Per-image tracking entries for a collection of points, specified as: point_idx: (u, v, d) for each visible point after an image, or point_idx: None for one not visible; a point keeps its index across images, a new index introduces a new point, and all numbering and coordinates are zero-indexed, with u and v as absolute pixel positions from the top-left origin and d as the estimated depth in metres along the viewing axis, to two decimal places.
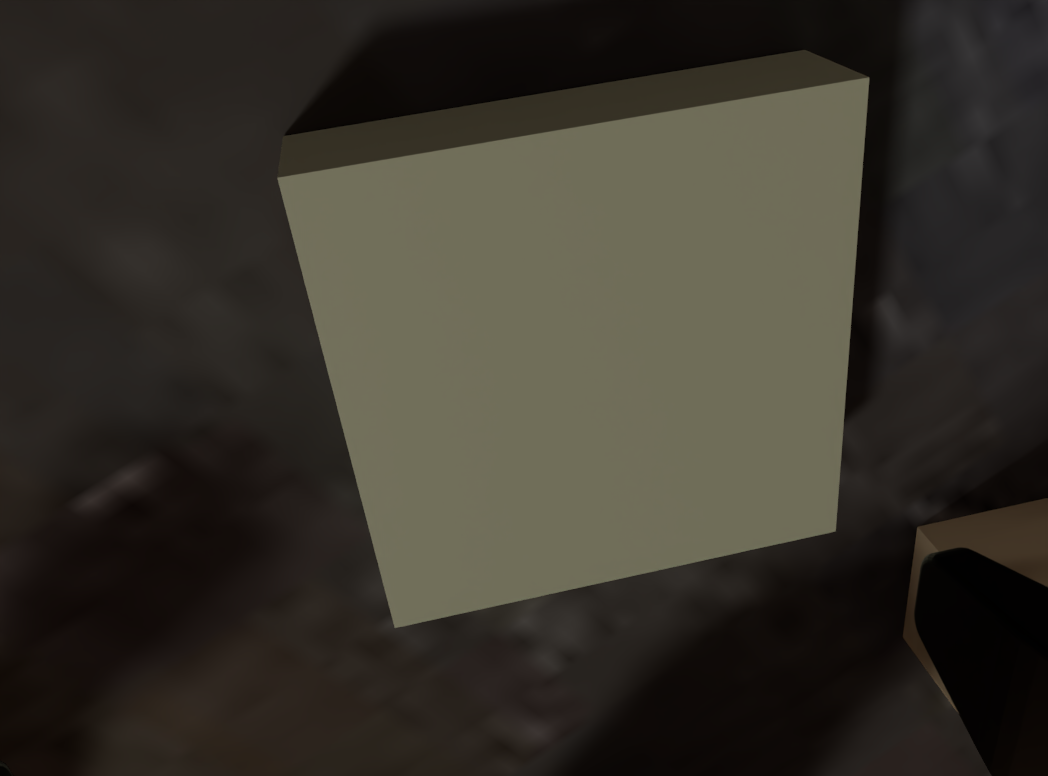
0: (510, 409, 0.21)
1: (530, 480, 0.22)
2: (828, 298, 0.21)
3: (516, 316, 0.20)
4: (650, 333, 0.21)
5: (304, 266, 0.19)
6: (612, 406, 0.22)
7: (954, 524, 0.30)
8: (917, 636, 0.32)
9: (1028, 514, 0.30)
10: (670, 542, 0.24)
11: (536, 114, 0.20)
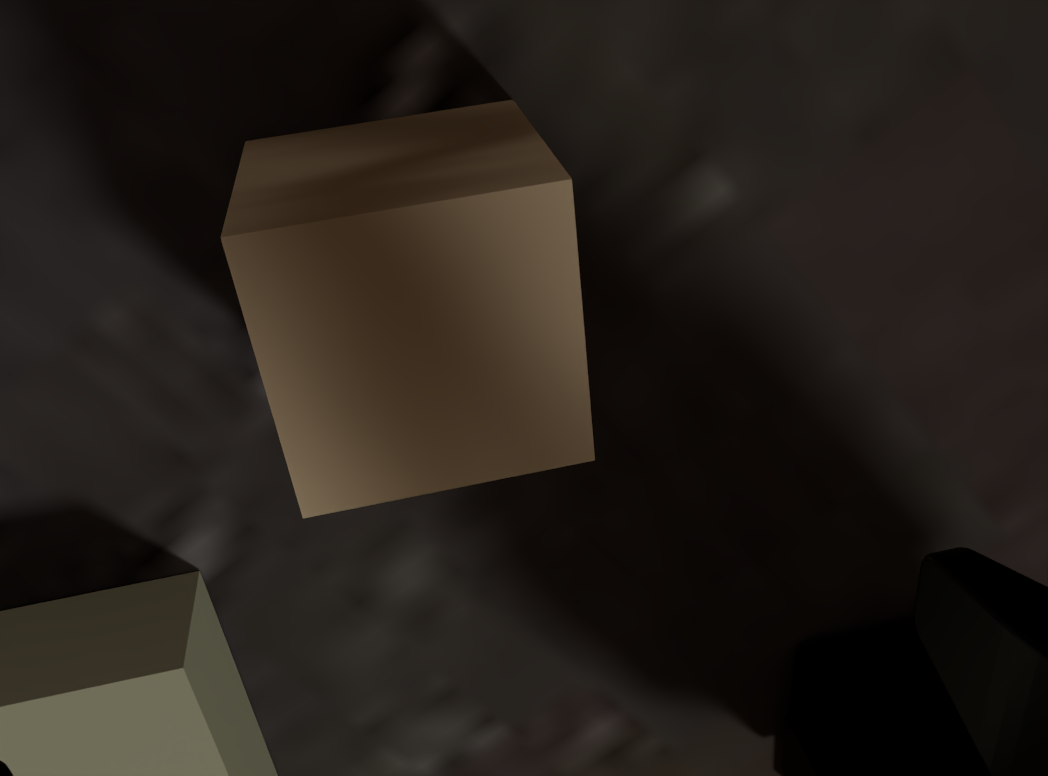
0: None
1: None
2: None
3: None
4: None
5: None
6: None
7: None
8: None
9: None
10: None
11: None
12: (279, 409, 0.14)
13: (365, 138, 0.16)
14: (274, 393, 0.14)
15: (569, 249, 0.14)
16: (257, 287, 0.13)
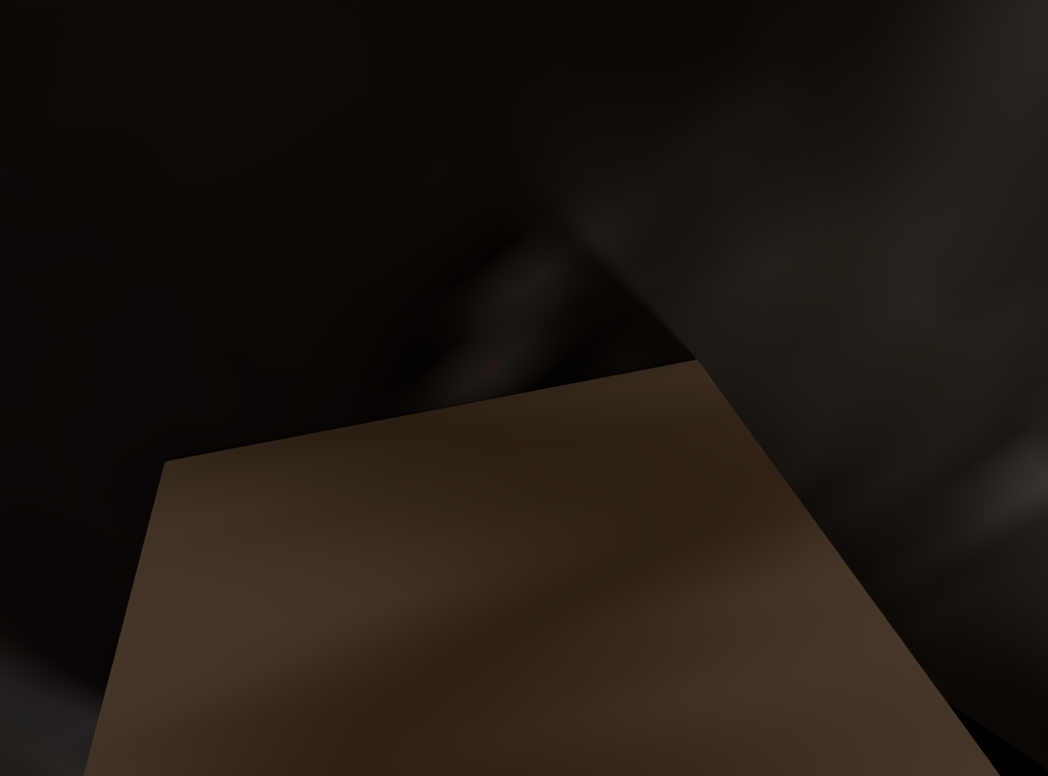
0: None
1: None
2: None
3: None
4: None
5: None
6: None
7: None
8: None
9: None
10: None
11: None
12: None
13: (413, 490, 0.08)
14: None
15: None
16: None
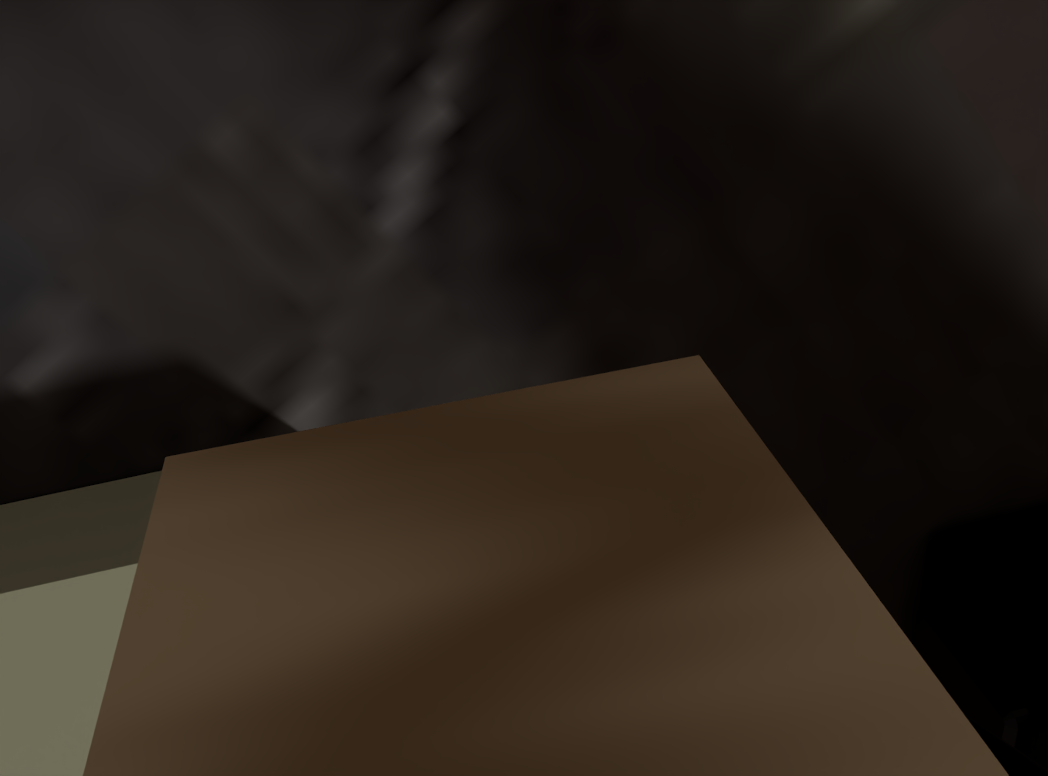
0: None
1: None
2: None
3: None
4: None
5: None
6: None
7: None
8: None
9: None
10: None
11: None
12: None
13: (414, 486, 0.08)
14: None
15: None
16: None
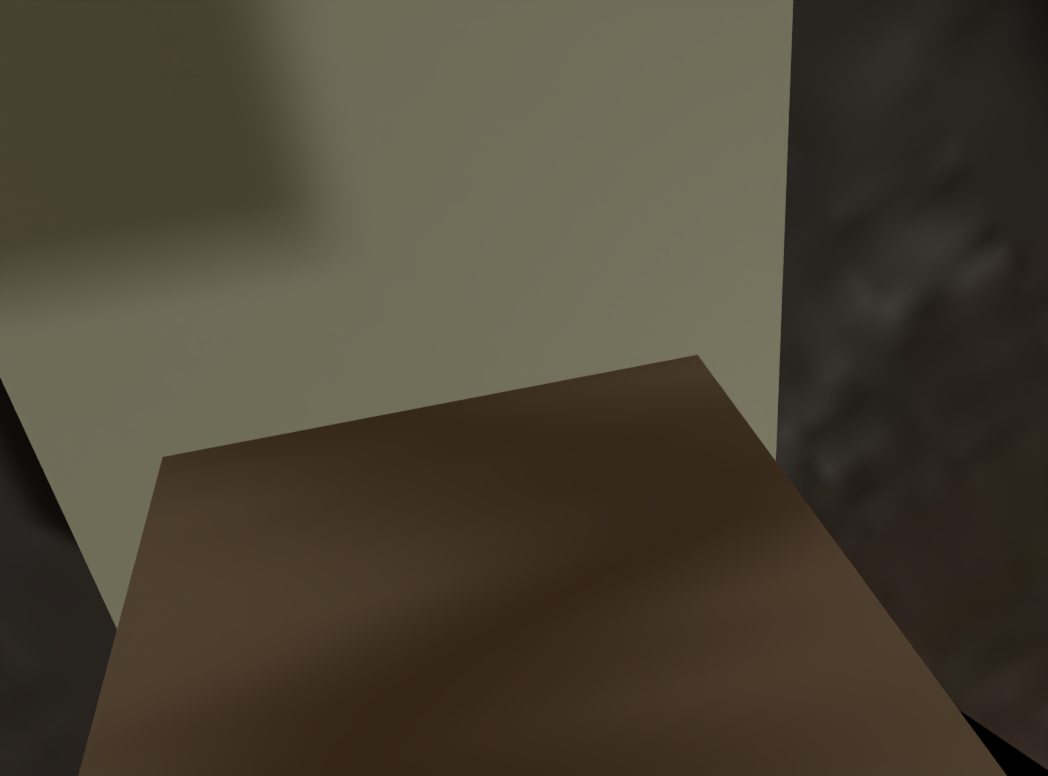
0: None
1: None
2: (262, 8, 0.12)
3: None
4: (334, 308, 0.14)
5: None
6: (459, 344, 0.15)
7: None
8: None
9: None
10: (732, 222, 0.15)
11: None
12: None
13: (412, 485, 0.08)
14: None
15: None
16: None
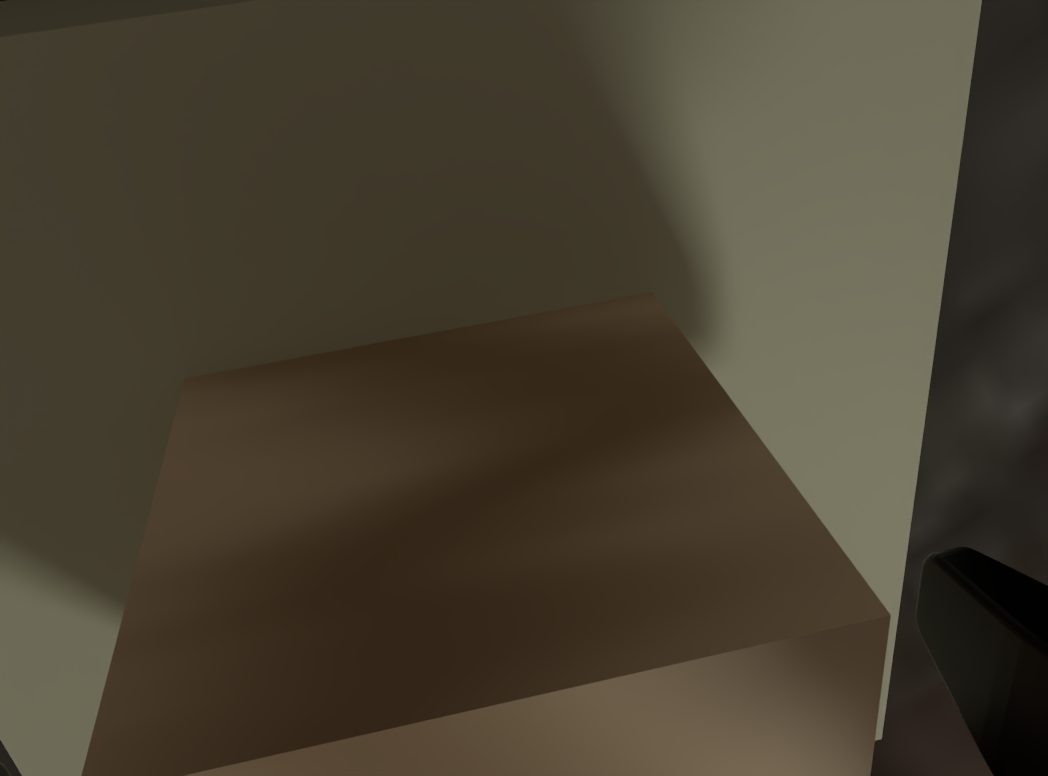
0: None
1: None
2: (243, 77, 0.08)
3: None
4: None
5: None
6: None
7: None
8: None
9: None
10: (869, 342, 0.11)
11: None
12: None
13: (400, 396, 0.09)
14: None
15: (858, 731, 0.06)
16: None
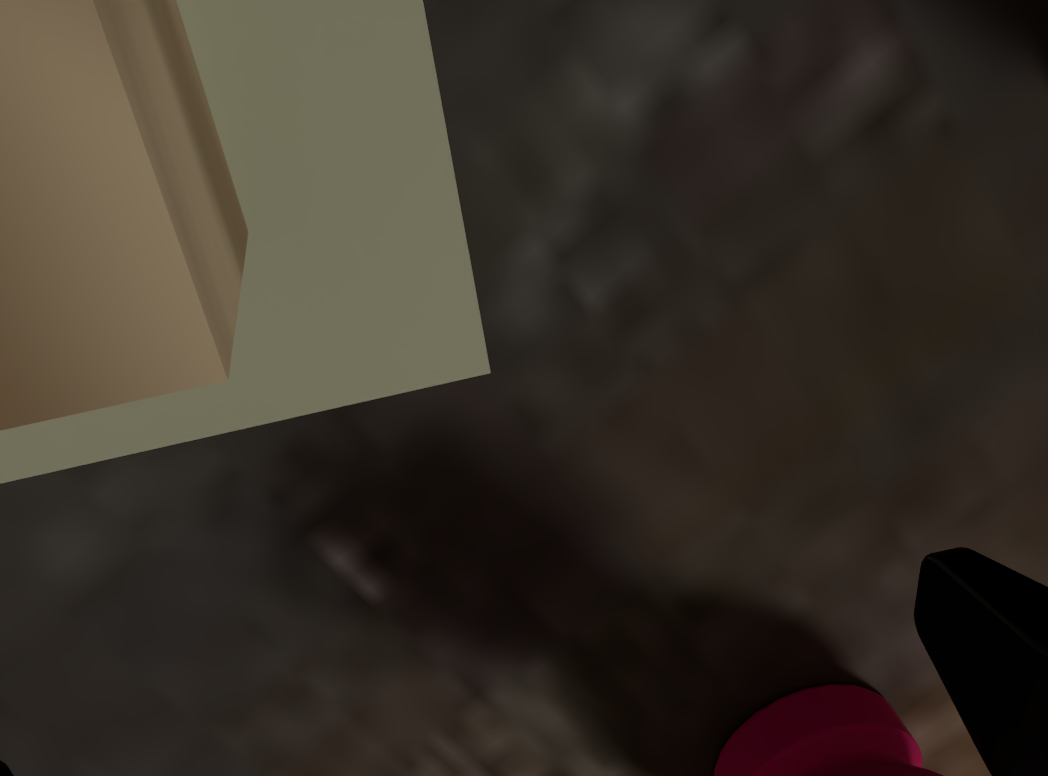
0: None
1: None
2: None
3: None
4: None
5: None
6: None
7: None
8: None
9: None
10: None
11: None
12: None
13: None
14: None
15: (90, 31, 0.09)
16: None
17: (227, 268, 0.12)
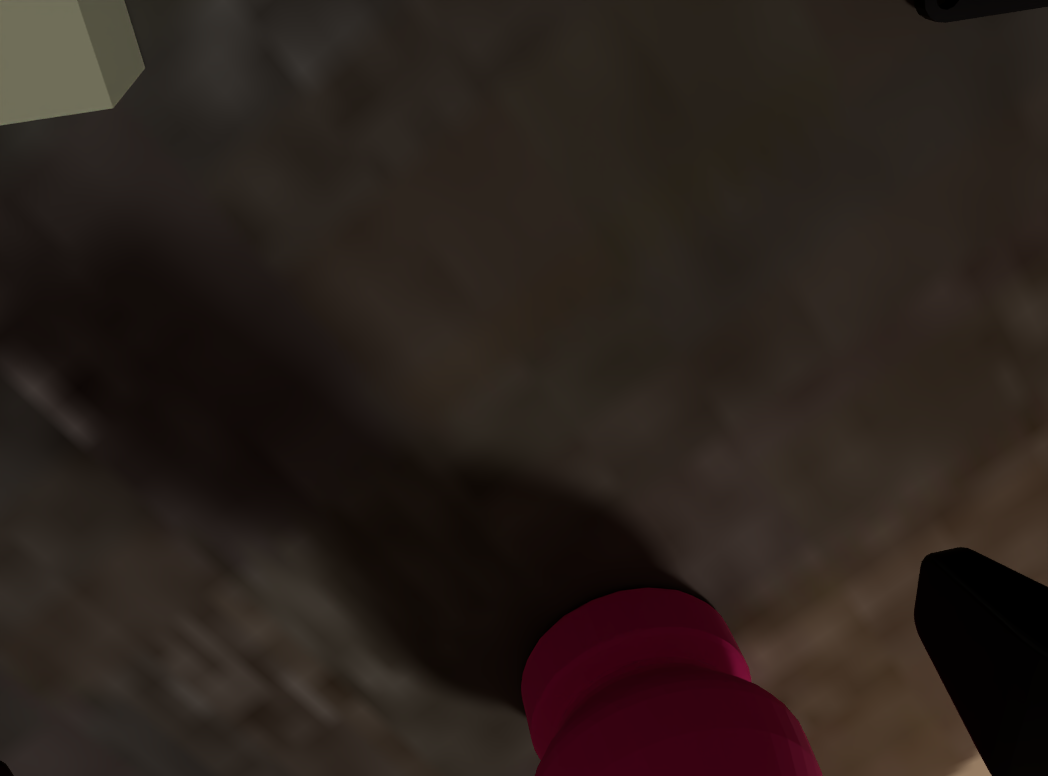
0: None
1: None
2: None
3: None
4: None
5: None
6: None
7: None
8: None
9: None
10: None
11: None
12: None
13: None
14: None
15: None
16: None
17: None
